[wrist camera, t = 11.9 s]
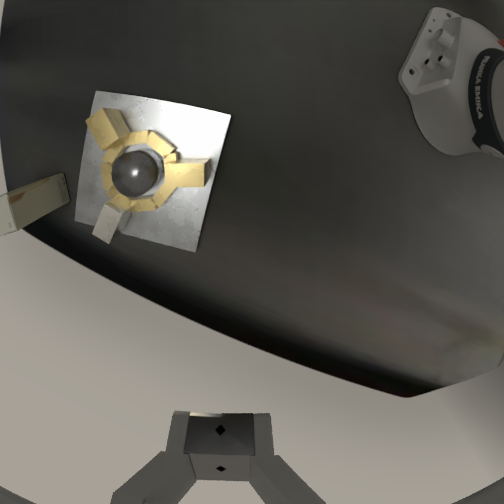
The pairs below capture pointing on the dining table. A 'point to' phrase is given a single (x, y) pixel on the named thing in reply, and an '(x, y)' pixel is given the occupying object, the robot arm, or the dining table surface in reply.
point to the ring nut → (115, 142)
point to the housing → (154, 167)
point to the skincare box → (31, 202)
